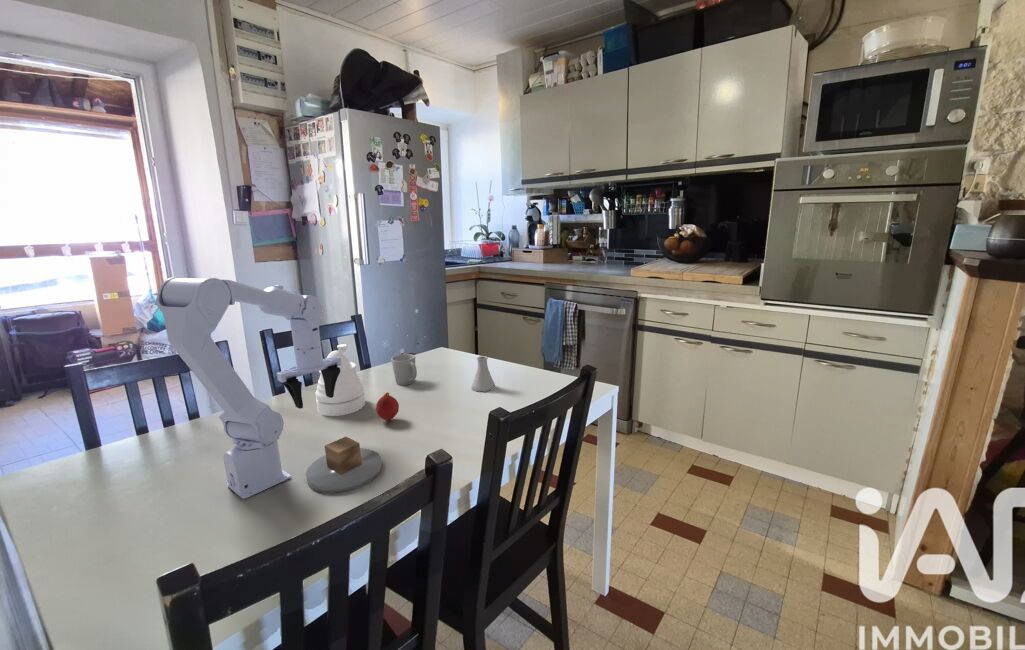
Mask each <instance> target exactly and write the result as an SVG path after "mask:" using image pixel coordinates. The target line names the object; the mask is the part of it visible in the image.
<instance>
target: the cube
mask: <svg viewBox="0 0 1025 650" xmlns="http://www.w3.org/2000/svg"><path fill="white" fill-rule="evenodd" d="M360 448H361V446H360V442H358V441H356V440H354V439H352V438H350V437H348V436H344V437H341V438H339V439H337V440H333V441H332V442H329V443H328V444H325V445H324V451H325V452H324V453H325V455H326V461H327V467H328V468H330V469H331V470H333V471H335V472H336V473H338V474H340V475H341V474H344V473H346V472H348V471H350V470H352V469H354V468H356V467H358V466H360V465H362V462H361V453H360Z"/></svg>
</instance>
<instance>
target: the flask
mask: <svg viewBox="0 0 1025 650" xmlns="http://www.w3.org/2000/svg"><path fill="white" fill-rule="evenodd" d="M476 360H477V368H476V373H475V376H474V379H473V382H472V384H471V387H470V389H471V388H472V389H471V390H473V389H474V390H473V391H475V390H476V391H475V392H480V391H483V392H482V393H487V392H489V391H488V390H490V391H492V389H493V388H494V387H495V386H496V383H495V381H494V379H493V377H492V375H491V373H490V370H489V366H488V356H485V355H480V356H478V357H476ZM495 388H496V387H495ZM495 388H494V389H495ZM494 389H493V390H494Z"/></svg>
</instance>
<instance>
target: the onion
mask: <svg viewBox="0 0 1025 650" xmlns="http://www.w3.org/2000/svg"><path fill="white" fill-rule="evenodd" d="M399 408H400V404H399V401H398V400H397V399H396V398H395V397H394V396H392V395H390V392H389V391H385V392H384V394H383V396H381V397H380V398H379V399H378V401H377V403H376V405H375V413H376V414H377V415H378V418H380V419H382V420H384V421H387V422H390V421H392V420H393V419H394V418H395V417H396V416H397V415H398V413H399Z"/></svg>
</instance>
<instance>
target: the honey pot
mask: <svg viewBox="0 0 1025 650" xmlns="http://www.w3.org/2000/svg"><path fill="white" fill-rule="evenodd" d="M336 347H337V350H333V351H331V352H330V353H328V355H327V357H326V358H331V357H335V356H337V357H340V358H341V365H340V366H337V367H339V368H340V374H339V376H338V378H337V381H336V384H335V389H334V396H333V397H332V398H330V397H327V396H326V392H325V385H324V379H323V376H322V373H321V370H320V371H318V373H319V374H320V375H319V378H318V380H317V383H318V384H317V385H316V391H315V392H314V395H315V401H316V409H317V413H318V414H319V415H321V416H325V417H326V416H327V417H339V416H340V415H341V416H345V414H346V415H349V414H353V413H355V411H356V412H358V411H360V410H361V409H363V408H364V407H365V405H366V399H365V393H364V391H365V390H364V386H363V383H362V382H361V379H360V377H359V375H358V374H357V372H356V371H355V370H356V369H357V368H358V367H357V364H356V363H355V362H352V361H350V360H349V359H348V357H347V356H346V355H345V354H344V352H346V350H347V349H348V345H347V343H344V344H343V343H342V344H338V345H337V346H336ZM363 406H364V407H363ZM362 407H363V408H362ZM359 409H360V410H359ZM341 416H340V417H341Z"/></svg>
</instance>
